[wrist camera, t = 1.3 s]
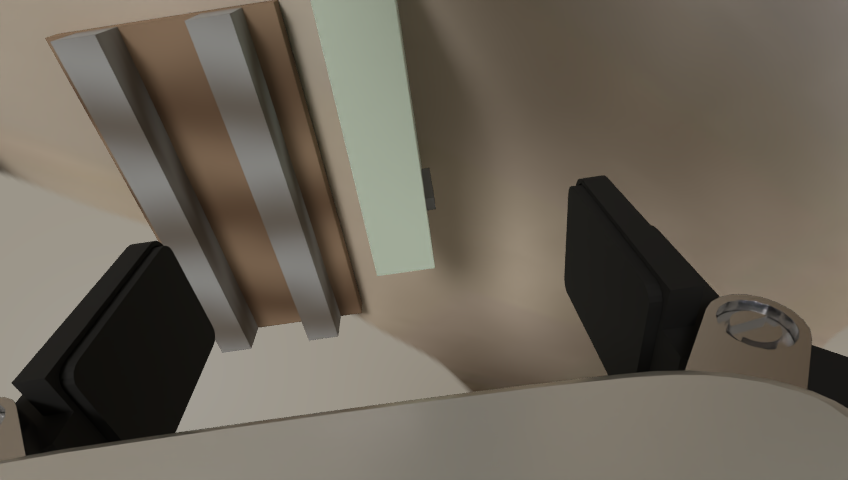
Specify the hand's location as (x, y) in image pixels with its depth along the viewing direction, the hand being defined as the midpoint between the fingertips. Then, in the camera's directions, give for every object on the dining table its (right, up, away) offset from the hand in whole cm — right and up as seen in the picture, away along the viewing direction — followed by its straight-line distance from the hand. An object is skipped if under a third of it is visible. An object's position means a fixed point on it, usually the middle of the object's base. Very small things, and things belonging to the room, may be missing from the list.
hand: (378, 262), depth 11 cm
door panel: (-1, +10, +14) cm, 17 cm away
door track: (-10, +3, +17) cm, 20 cm away
